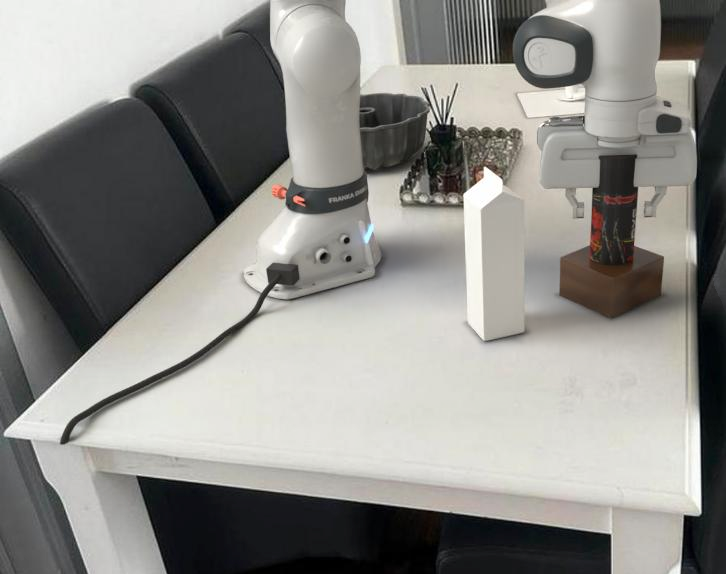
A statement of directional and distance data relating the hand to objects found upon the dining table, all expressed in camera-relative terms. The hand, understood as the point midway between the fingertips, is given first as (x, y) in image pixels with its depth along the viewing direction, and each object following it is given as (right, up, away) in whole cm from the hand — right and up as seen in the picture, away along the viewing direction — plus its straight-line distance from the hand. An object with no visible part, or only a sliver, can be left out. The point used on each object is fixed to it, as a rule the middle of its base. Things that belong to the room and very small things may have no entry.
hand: (613, 216), depth 132 cm
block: (+1, -10, +7) cm, 12 cm away
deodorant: (+1, -5, +3) cm, 6 cm away
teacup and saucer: (+12, +44, +88) cm, 99 cm away
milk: (-16, -15, +2) cm, 22 cm away
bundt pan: (-33, +25, +67) cm, 79 cm away
